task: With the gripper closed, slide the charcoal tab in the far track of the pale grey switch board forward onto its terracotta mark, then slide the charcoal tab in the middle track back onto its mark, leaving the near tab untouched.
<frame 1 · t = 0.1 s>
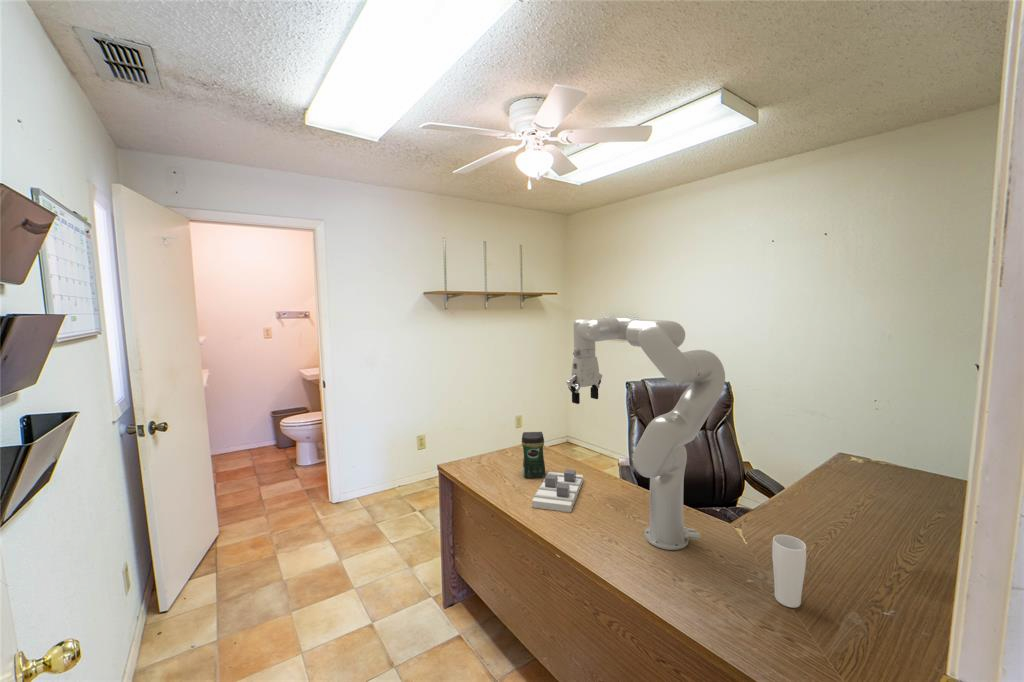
hand: (585, 400, 152), 37 cm above the table, tool pointing down, fingers open, 9 cm apart
tab a: (570, 475, 166), point 5 cm above the table, slide at 0.0 cm
tab b: (551, 481, 162), point 5 cm above the table, slide at 6.0 cm
switch board: (559, 493, 161), on the table
coffee jar: (534, 475, 179), on the table
tab c: (563, 490, 154), point 5 cm above the table, slide at 0.0 cm
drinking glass: (787, 601, 102), on the table
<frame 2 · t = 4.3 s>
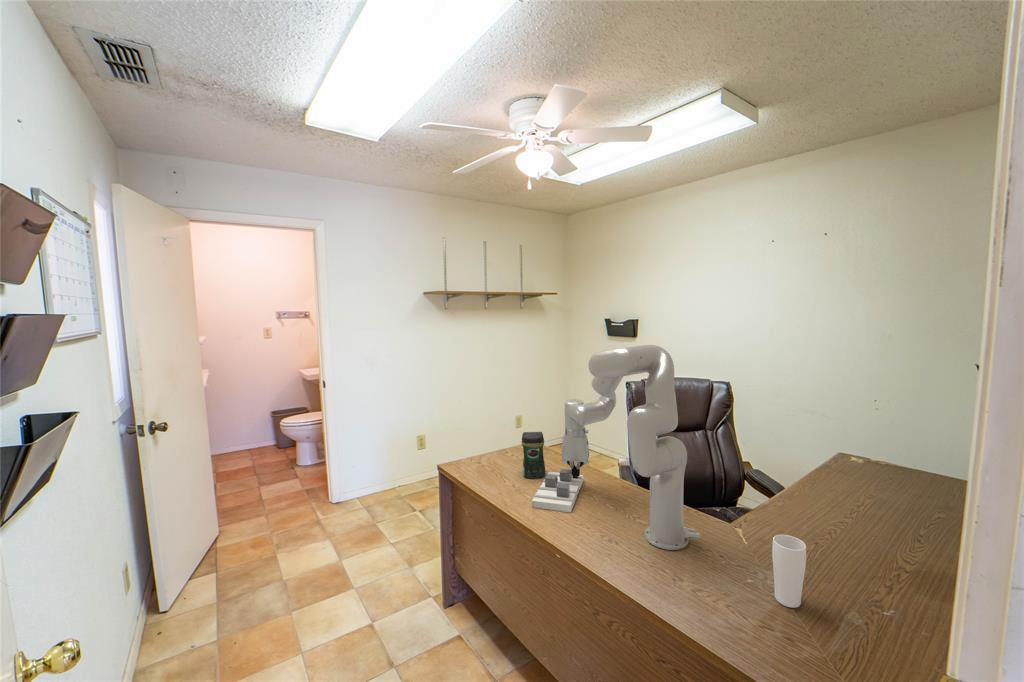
hand: (575, 477, 165), 4 cm above the table, tool pointing down, fingers closed
tab a: (565, 475, 167), point 5 cm above the table, slide at 1.8 cm, touching gripper
everything else where it was.
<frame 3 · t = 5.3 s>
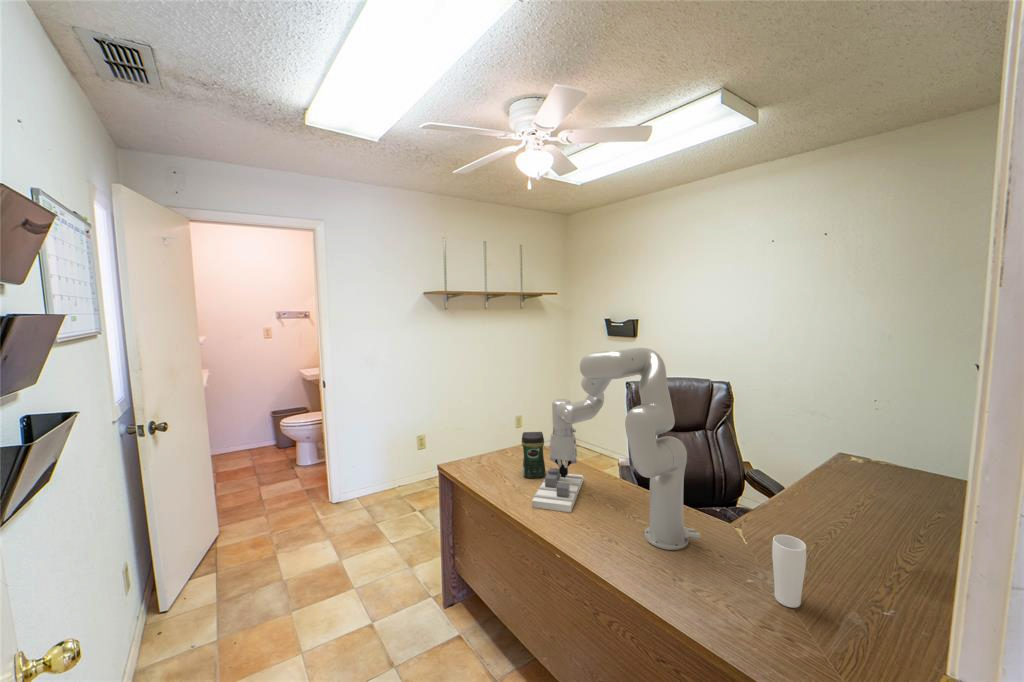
hand: (563, 476, 167), 4 cm above the table, tool pointing down, fingers closed
tab a: (554, 474, 168), point 5 cm above the table, slide at 6.4 cm, touching gripper
everything else where it was.
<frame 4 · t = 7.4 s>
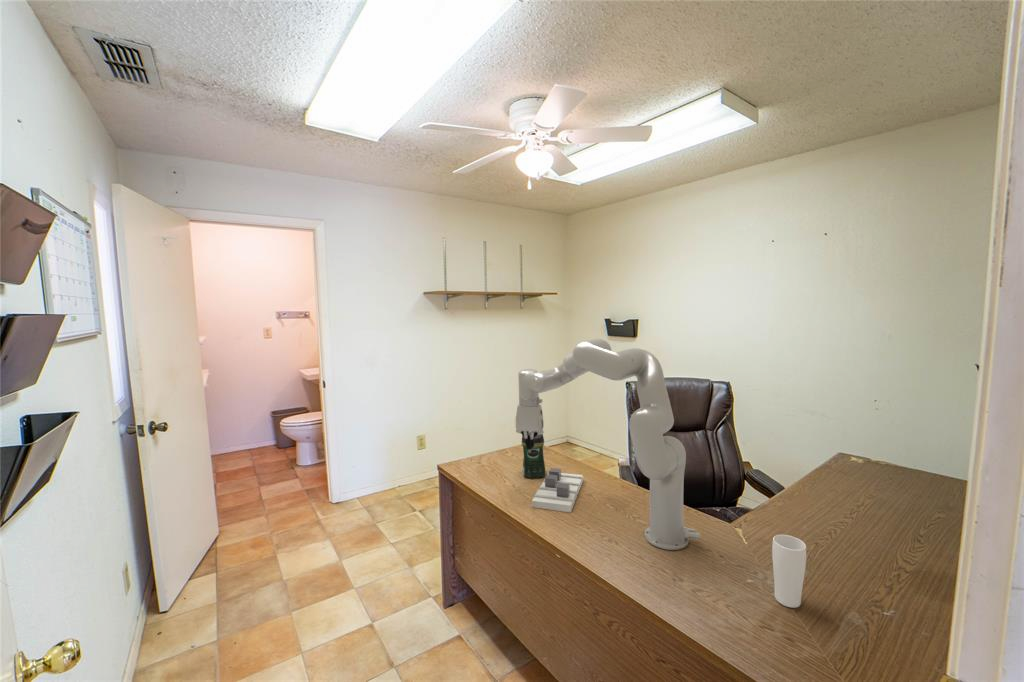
hand: (530, 448, 163), 17 cm above the table, tool pointing down, fingers closed
tab a: (555, 474, 168), point 5 cm above the table, slide at 6.1 cm
everything else where it was.
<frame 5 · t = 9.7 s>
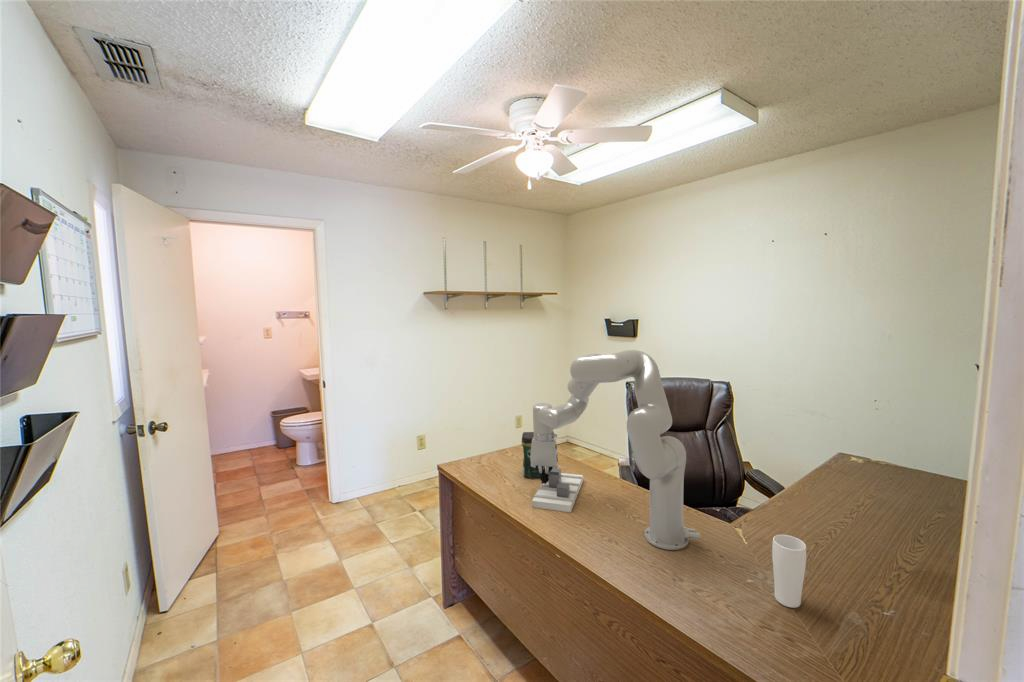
hand: (544, 482, 163), 4 cm above the table, tool pointing down, fingers closed
tab b: (555, 481, 161), point 5 cm above the table, slide at 4.5 cm, touching gripper
everything else where it was.
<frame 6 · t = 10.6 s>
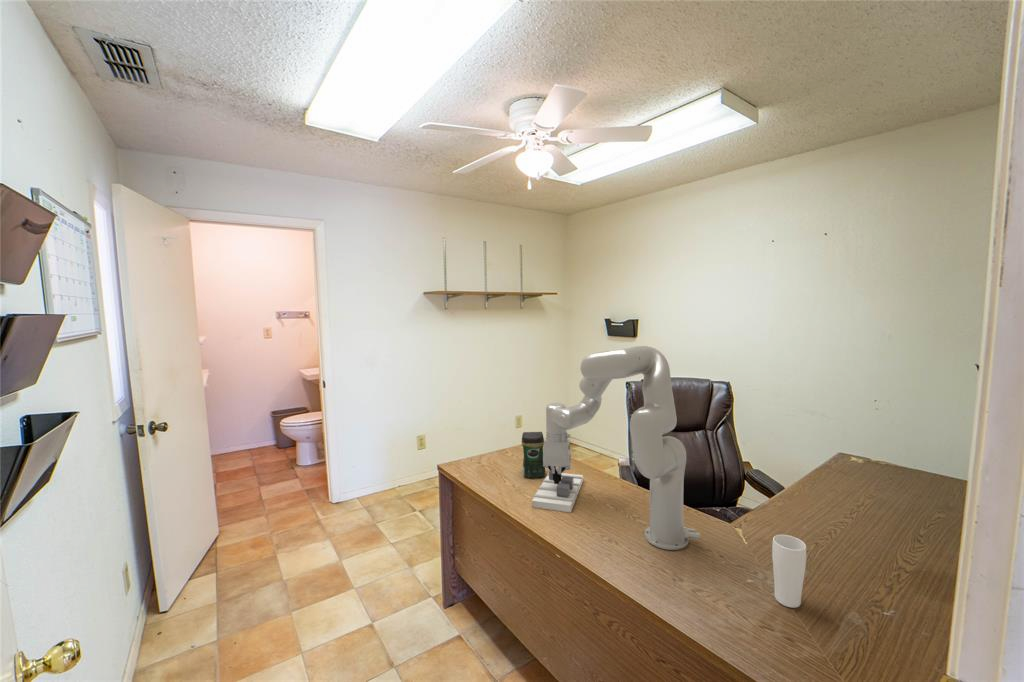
hand: (557, 482, 161), 4 cm above the table, tool pointing down, fingers closed
tab b: (567, 482, 160), point 5 cm above the table, slide at -0.2 cm, touching gripper
everything else where it was.
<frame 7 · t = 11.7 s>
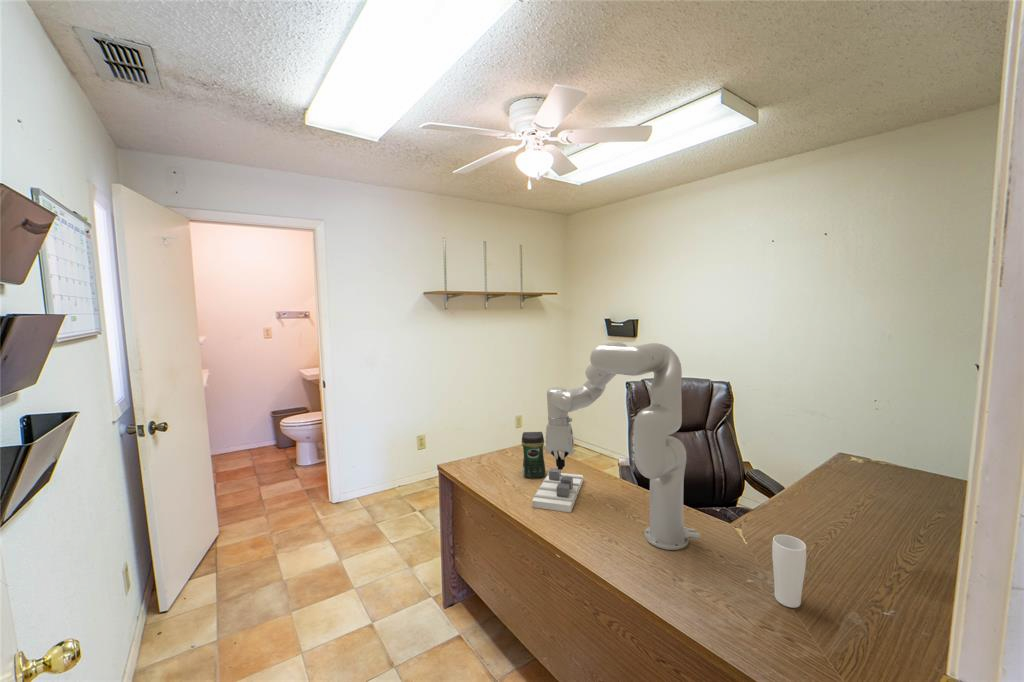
hand: (560, 468, 160), 10 cm above the table, tool pointing down, fingers closed
tab b: (566, 482, 160), point 5 cm above the table, slide at -0.1 cm
everything else where it was.
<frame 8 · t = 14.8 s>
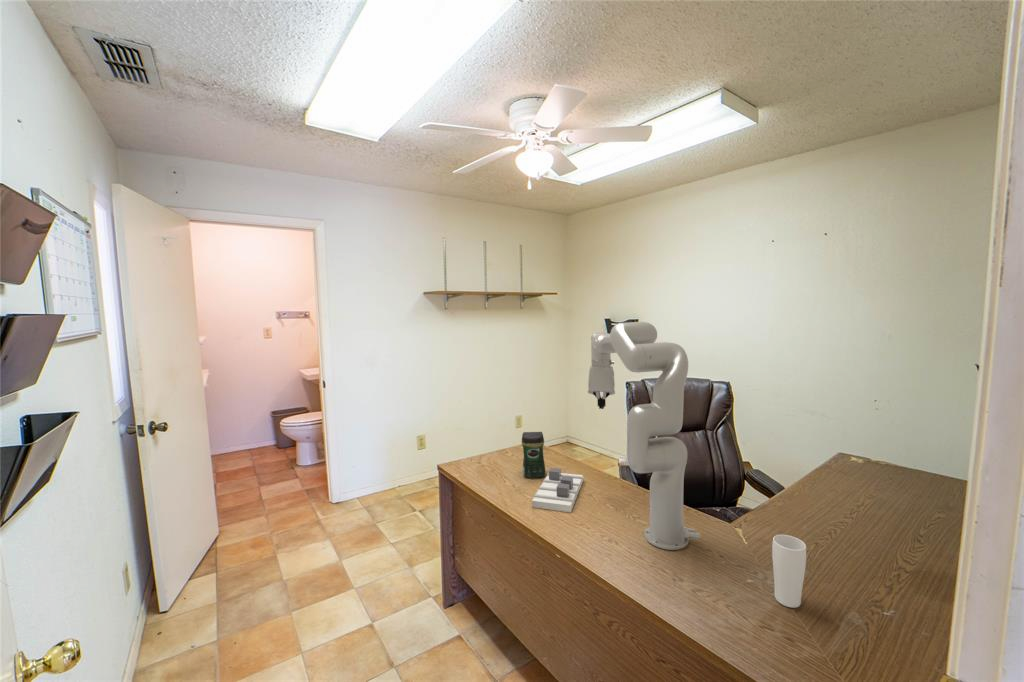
hand: (601, 408, 172), 29 cm above the table, tool pointing down, fingers closed
nothing on the table moved.
at the end: tab a slide at 6.1 cm; tab b slide at -0.1 cm; tab c slide at 0.0 cm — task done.
